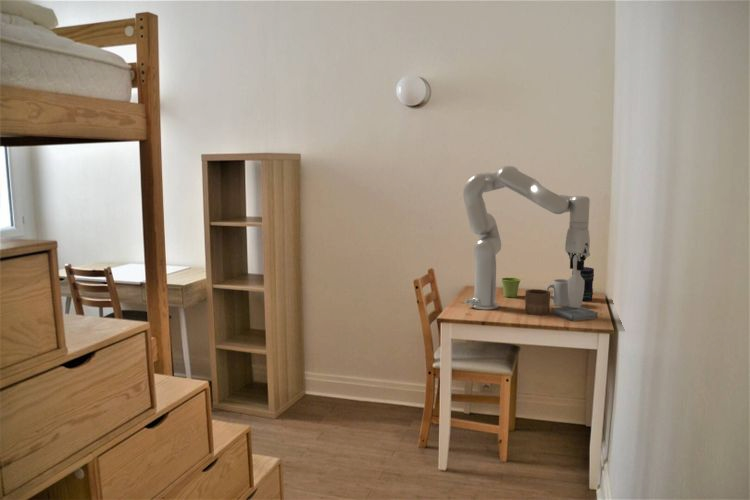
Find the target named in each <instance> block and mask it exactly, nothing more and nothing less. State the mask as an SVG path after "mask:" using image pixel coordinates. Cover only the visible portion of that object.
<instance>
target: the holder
mask: <svg viewBox="0 0 750 500" xmlns="http://www.w3.org/2000/svg"><path fill="white" fill-rule="evenodd" d="M550 296H551V292H550V291H549V290H548V291H546V289H534V288H533V289H527V290H525V303H524V304H525V305H524V306H525V307H524V312H525V313H526V312H527V313H526V314H528V315H529V314H530V315H534V316H536V315H537V316H545V315H549V314H550V306H551V305H550V303H551V299H550Z"/></svg>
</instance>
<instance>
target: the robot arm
mask: <svg viewBox="0 0 750 500" xmlns="http://www.w3.org/2000/svg"><path fill="white" fill-rule="evenodd" d="M504 188H507V189H509V190H511V191H513V192H515V193H517V194H518V195H520V196H522V197H524V198H526V199H527V200H529V201H531V202H532V203H534V204H535V205H537V206H539V207H541V208H543V209H545V210H547V211H548V212H550V213H552V214H555V215H562V214H564V213H569V223H568V224H569V227H568V229H567V231H566V232H567V233H566V236H565V244H564V245H565V249H564V250H565V253H566V254H567V256H568V258H569V269H571V270H572V269H573V258H574V255H578V261H577V270H584V267H585V261H586V259H587V258H588V257H590V256H591V253H590V244H591V243H590V231H589V221H590V205H591V204H590V202H591V201H590V197H589V196H586V195H585V196H583V195H581V196H580V195H576V196H571V195H564V194H560V195H559V194H557V193H555V192H553V191H551V190H549V189H548V188H546V187H545V186H543V185H542V184H541V183H540V182H539V181H538V180H536V179H535V178H533V177H531V176H530V175H527V174H525V173H523V172H522V171H520V170H519V169H518V168H517V167H515V166H513V165H505V166H502V167H501V168H499V169H496V170H493V171H489V172H482V173H476V174H474V175H472V176H471V177H470V178H468V180H467V181H466V182H465V184H464V187H463V193H462V194H463V197H462V198H463V201H464V205H465V208H466V214H467V218H468V223H469V227H470V229H471V232H472V233H473V234H475V235H477V236H478V240H477V241H476V242H475V244H474V247H473V257H474V259H473V260H474V289H473V290H474V291H473V295H472V297H471V298H468V299H467V298H466V299H464V304H467V305H468V304H470V307H471V308H474V309H477V310H487V311H488V310H497V309H498V308H499V306H500V305H499V303H498V302H496V290H497V289H496V288H497V257H496V255H497V254H499V253H500V252H501V249H502V240H501V236H500V232H499V230H498V225H497V222H496V218H495V217H494V216H493V215H492V214H491V213H488V211H487V207H486V203H485V200H484V197H483V194H484V193H488V192H489V193H490V192H492V191H495V190H500V189H504Z"/></svg>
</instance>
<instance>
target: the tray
mask: <svg viewBox="0 0 750 500" xmlns="http://www.w3.org/2000/svg"><path fill="white" fill-rule="evenodd" d="M551 314H552V315H555V316H557V317H560V318H562V319H565V320H567V321H571V322H577V321H585V320H592V319H593V320H594V319H598V314H599V312H597V311H595V310H591V309H588V308H586V307H583V306H581V307H579V308H573V307H570V306H557V307H553V308H551Z"/></svg>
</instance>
